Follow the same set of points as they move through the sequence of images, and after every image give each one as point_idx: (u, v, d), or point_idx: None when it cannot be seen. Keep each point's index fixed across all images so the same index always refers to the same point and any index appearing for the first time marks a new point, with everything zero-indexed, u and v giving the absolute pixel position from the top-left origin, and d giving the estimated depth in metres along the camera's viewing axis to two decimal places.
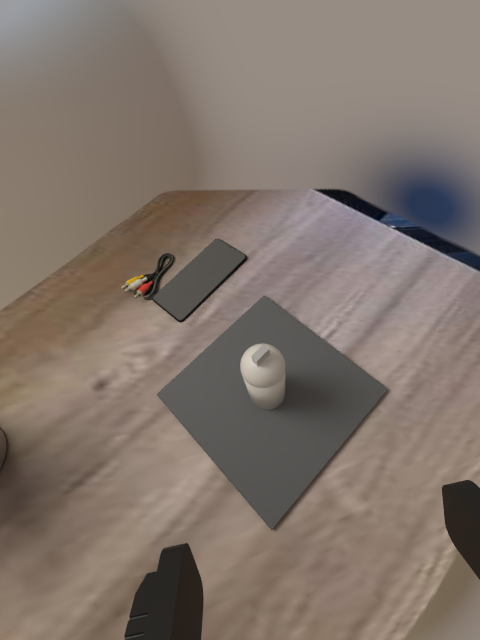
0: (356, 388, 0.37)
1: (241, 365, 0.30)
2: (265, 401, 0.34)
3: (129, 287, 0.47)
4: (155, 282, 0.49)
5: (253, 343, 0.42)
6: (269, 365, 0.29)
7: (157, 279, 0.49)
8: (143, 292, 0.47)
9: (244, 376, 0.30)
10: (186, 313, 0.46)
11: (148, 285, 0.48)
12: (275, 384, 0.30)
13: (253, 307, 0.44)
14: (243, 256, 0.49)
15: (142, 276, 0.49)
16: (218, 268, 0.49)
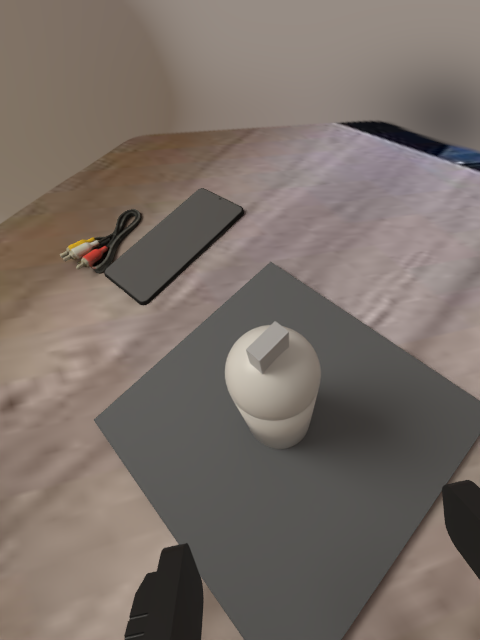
0: (437, 410, 0.21)
1: (226, 371, 0.14)
2: (277, 439, 0.18)
3: (70, 253, 0.32)
4: (111, 248, 0.33)
5: None
6: (288, 371, 0.12)
7: (114, 244, 0.34)
8: (91, 261, 0.32)
9: (233, 395, 0.14)
10: (152, 291, 0.30)
11: (99, 251, 0.32)
12: (300, 412, 0.14)
13: (254, 279, 0.29)
14: (239, 209, 0.33)
15: (92, 239, 0.33)
16: (202, 227, 0.33)
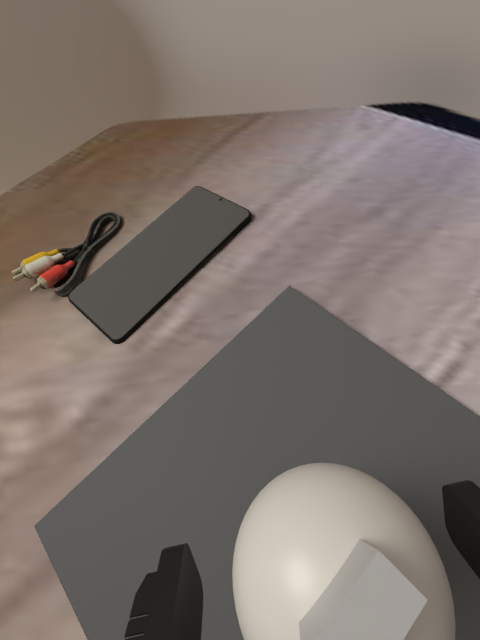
0: None
1: (237, 591, 0.06)
2: None
3: (23, 271, 0.24)
4: (79, 263, 0.25)
5: (269, 394, 0.18)
6: None
7: (85, 258, 0.26)
8: (50, 281, 0.24)
9: None
10: (129, 325, 0.22)
11: (63, 268, 0.25)
12: None
13: (267, 311, 0.21)
14: (245, 213, 0.26)
15: (55, 251, 0.26)
16: (197, 236, 0.25)
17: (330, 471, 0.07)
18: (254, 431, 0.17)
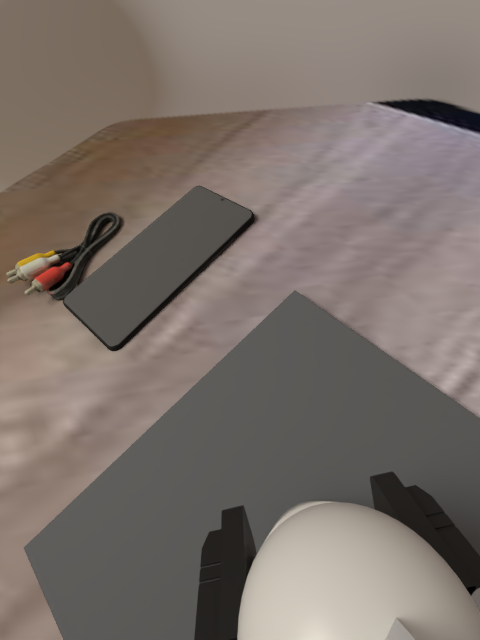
0: None
1: None
2: None
3: (17, 273, 0.23)
4: (76, 265, 0.24)
5: (274, 407, 0.17)
6: None
7: (82, 259, 0.25)
8: (46, 284, 0.23)
9: None
10: (126, 332, 0.21)
11: (59, 270, 0.24)
12: None
13: (271, 317, 0.20)
14: (248, 214, 0.25)
15: (52, 253, 0.25)
16: (198, 238, 0.24)
17: (352, 518, 0.06)
18: (258, 446, 0.16)
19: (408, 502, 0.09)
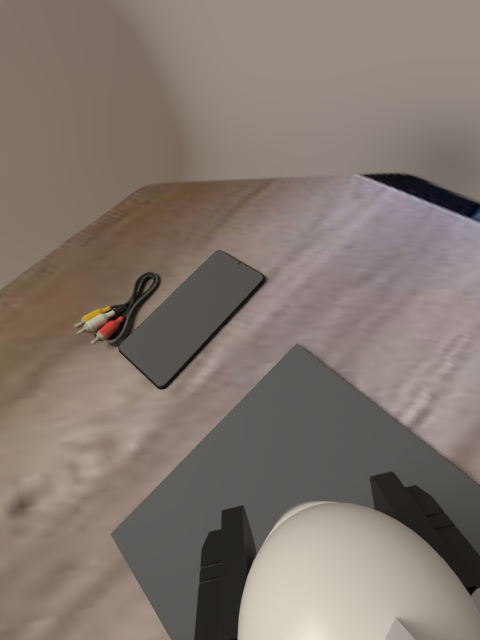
0: None
1: None
2: None
3: (85, 327, 0.30)
4: (127, 318, 0.31)
5: (282, 434, 0.24)
6: None
7: (131, 313, 0.32)
8: (106, 335, 0.30)
9: None
10: (170, 374, 0.28)
11: (115, 323, 0.31)
12: None
13: (279, 365, 0.27)
14: (260, 277, 0.32)
15: (108, 308, 0.32)
16: (221, 297, 0.31)
17: (352, 518, 0.06)
18: (271, 463, 0.23)
19: (408, 502, 0.09)
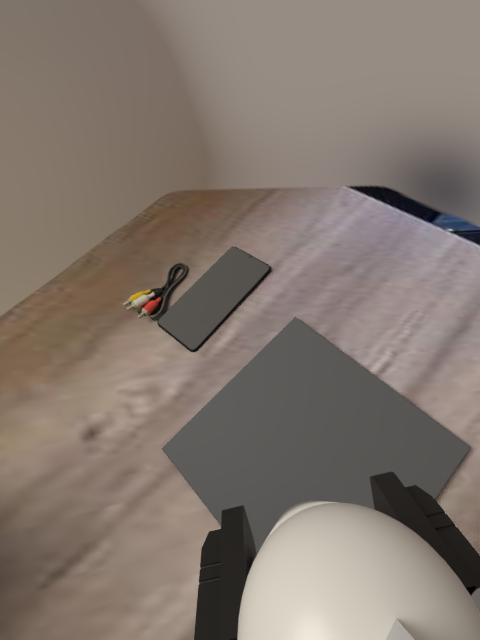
0: (427, 445, 0.28)
1: None
2: None
3: (132, 304, 0.39)
4: (164, 299, 0.40)
5: (284, 380, 0.33)
6: None
7: (167, 295, 0.41)
8: (149, 311, 0.39)
9: None
10: (199, 341, 0.37)
11: (156, 302, 0.39)
12: None
13: (282, 332, 0.35)
14: (266, 267, 0.40)
15: (149, 291, 0.40)
16: (237, 283, 0.40)
17: (353, 518, 0.06)
18: (276, 399, 0.32)
19: (408, 502, 0.09)
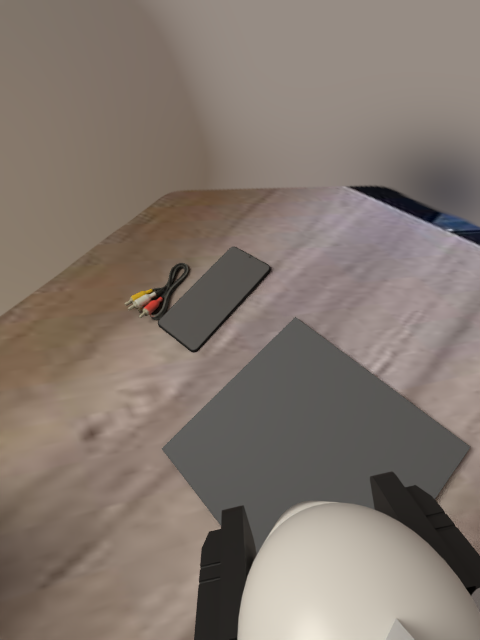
0: (427, 445, 0.28)
1: None
2: None
3: (134, 304, 0.39)
4: (165, 298, 0.40)
5: (284, 380, 0.33)
6: None
7: (168, 295, 0.41)
8: (150, 311, 0.39)
9: None
10: (200, 341, 0.37)
11: (157, 302, 0.39)
12: None
13: (282, 332, 0.35)
14: (267, 267, 0.40)
15: (150, 290, 0.40)
16: (237, 283, 0.40)
17: (353, 518, 0.06)
18: (276, 399, 0.32)
19: (408, 502, 0.09)
